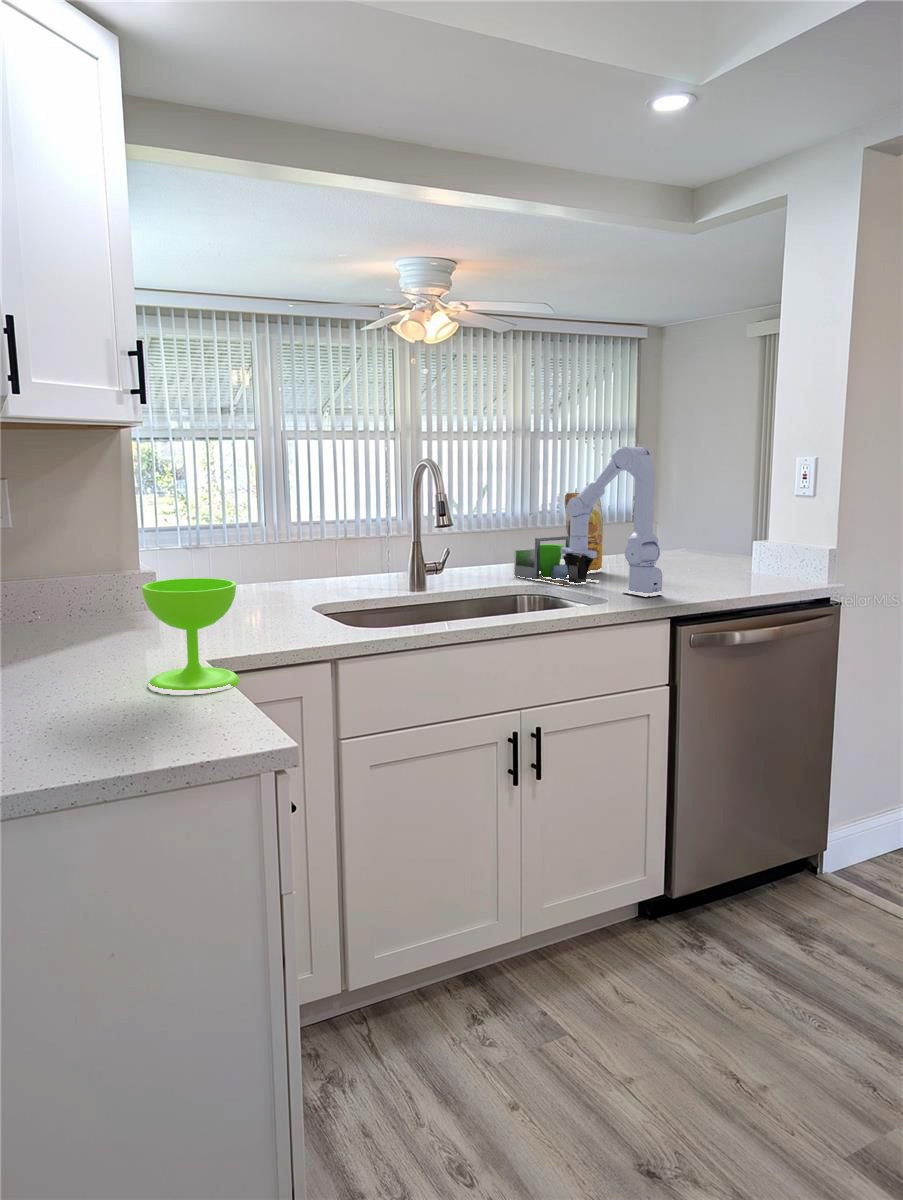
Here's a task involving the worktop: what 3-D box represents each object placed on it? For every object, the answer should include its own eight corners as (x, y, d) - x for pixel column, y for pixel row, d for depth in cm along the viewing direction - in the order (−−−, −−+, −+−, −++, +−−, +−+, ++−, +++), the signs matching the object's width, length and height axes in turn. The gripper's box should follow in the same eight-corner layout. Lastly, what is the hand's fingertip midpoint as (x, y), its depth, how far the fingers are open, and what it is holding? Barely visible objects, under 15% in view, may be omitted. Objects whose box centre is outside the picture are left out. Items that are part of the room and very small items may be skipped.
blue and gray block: (588, 584, 270) (589, 565, 269) (574, 585, 266) (575, 566, 265) (564, 579, 279) (565, 561, 278) (551, 580, 275) (551, 562, 274)
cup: (563, 580, 276) (564, 547, 274) (535, 580, 277) (536, 547, 275) (562, 576, 285) (563, 544, 283) (535, 576, 286) (536, 544, 284)
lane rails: (599, 583, 271) (599, 579, 271) (567, 587, 263) (567, 583, 263) (567, 577, 283) (567, 574, 283) (536, 580, 275) (536, 577, 275)
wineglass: (129, 684, 150) (123, 585, 147) (204, 667, 162) (200, 575, 159) (182, 701, 140) (177, 595, 137) (258, 681, 153) (255, 584, 150)
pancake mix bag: (555, 573, 292) (558, 492, 287) (595, 570, 302) (599, 491, 297) (568, 576, 286) (571, 493, 281) (609, 572, 297) (612, 492, 292)
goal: (569, 577, 283) (570, 536, 281) (536, 581, 275) (537, 538, 272) (546, 573, 292) (548, 533, 290) (514, 576, 284) (515, 535, 281)
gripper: (554, 534, 271) (552, 576, 273) (586, 538, 259) (584, 582, 261) (570, 533, 275) (568, 574, 277) (602, 537, 263) (600, 580, 265)
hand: (577, 578), depth 269 cm, fingers closed on blue and gray block, 4 cm apart
